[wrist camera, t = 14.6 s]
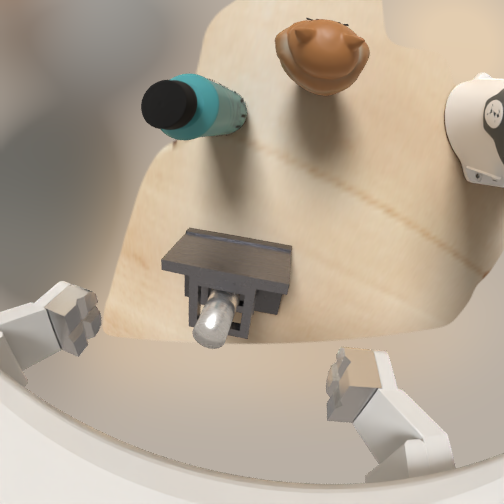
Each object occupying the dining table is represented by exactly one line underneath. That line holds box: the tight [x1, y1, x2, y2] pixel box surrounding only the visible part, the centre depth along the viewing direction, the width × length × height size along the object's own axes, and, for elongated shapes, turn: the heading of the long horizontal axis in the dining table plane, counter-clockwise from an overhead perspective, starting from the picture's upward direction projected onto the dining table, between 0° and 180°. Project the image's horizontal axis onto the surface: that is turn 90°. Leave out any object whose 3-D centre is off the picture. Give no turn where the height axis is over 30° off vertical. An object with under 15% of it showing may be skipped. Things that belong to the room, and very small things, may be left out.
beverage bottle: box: [141, 74, 248, 140], centre depth 27 cm, size 6×7×20 cm
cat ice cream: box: [275, 18, 370, 96], centre depth 24 cm, size 9×8×18 cm
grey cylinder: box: [193, 289, 241, 349], centre depth 38 cm, size 4×4×14 cm
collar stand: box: [161, 228, 292, 339], centre depth 41 cm, size 16×12×10 cm
